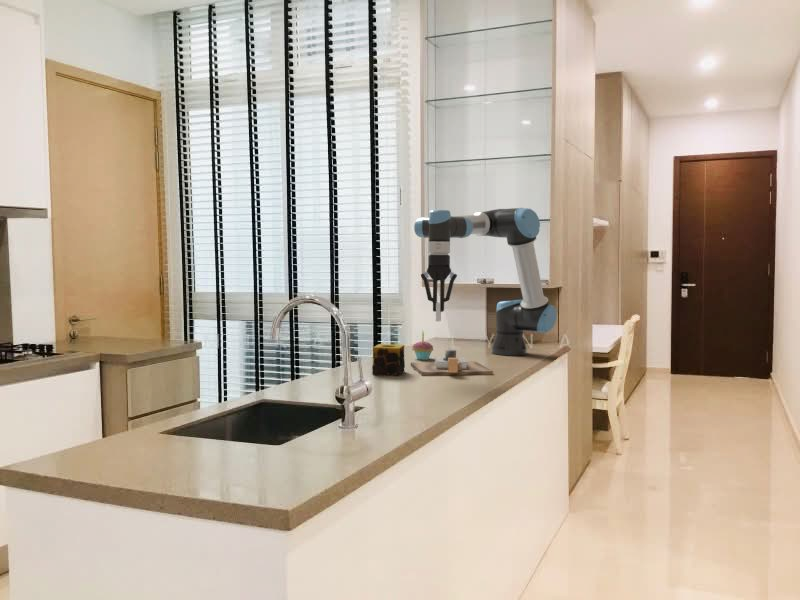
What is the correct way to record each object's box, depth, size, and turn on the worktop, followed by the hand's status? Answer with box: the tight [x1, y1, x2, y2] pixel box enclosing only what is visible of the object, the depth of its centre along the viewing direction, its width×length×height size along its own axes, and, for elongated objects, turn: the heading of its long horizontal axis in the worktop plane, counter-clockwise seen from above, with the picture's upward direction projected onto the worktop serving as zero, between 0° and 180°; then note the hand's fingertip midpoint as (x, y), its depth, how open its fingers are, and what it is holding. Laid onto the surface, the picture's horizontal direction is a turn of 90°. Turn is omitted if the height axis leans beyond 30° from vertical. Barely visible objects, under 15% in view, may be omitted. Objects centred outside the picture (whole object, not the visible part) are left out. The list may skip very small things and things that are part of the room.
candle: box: [371, 343, 406, 377], centre depth 260 cm, size 10×10×10 cm
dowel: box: [458, 362, 462, 371], centre depth 261 cm, size 2×2×3 cm
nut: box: [434, 356, 468, 373], centre depth 265 cm, size 20×11×5 cm, turn 0°
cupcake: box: [411, 331, 434, 361], centre depth 295 cm, size 9×8×12 cm
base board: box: [410, 349, 494, 376], centre depth 269 cm, size 26×22×7 cm
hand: (438, 320), depth 257 cm, fingers closed
